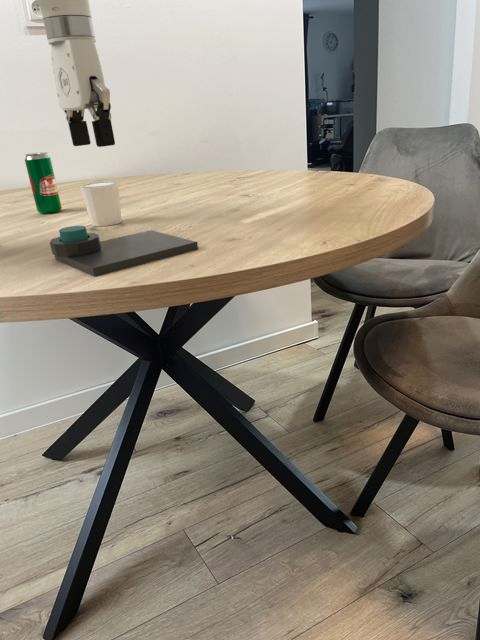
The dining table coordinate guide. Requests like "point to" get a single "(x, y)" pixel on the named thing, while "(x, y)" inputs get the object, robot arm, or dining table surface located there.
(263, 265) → the dining table surface
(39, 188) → the soda can
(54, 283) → the dining table surface
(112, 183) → the white cup
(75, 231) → the button
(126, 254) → the scale
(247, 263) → the dining table surface
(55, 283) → the dining table surface
